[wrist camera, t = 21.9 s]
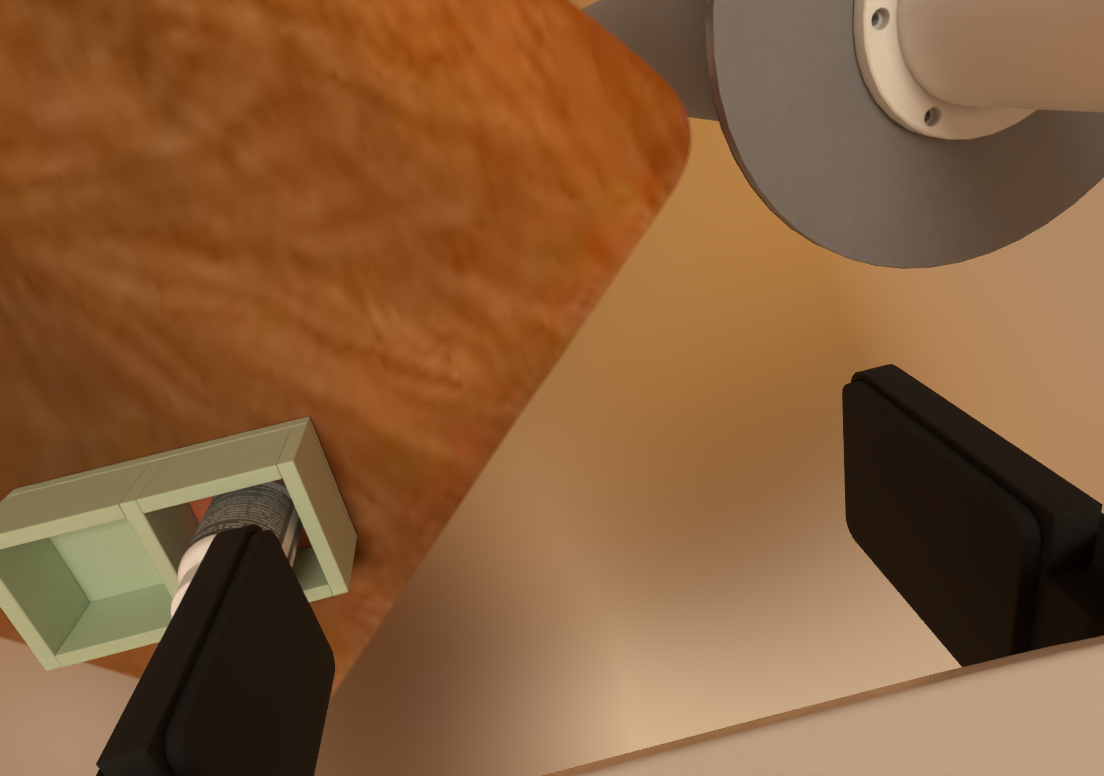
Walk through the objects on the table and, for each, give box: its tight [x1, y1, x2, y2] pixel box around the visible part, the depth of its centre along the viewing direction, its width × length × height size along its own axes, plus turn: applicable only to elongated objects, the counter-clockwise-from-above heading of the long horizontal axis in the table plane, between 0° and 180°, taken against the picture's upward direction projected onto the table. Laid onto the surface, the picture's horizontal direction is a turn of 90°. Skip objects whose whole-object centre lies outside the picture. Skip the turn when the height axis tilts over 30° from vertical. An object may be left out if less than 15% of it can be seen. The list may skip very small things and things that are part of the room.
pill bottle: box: [171, 478, 304, 617], centre depth 33 cm, size 5×5×8 cm
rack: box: [0, 417, 357, 671], centre depth 35 cm, size 15×8×5 cm, turn 101°
